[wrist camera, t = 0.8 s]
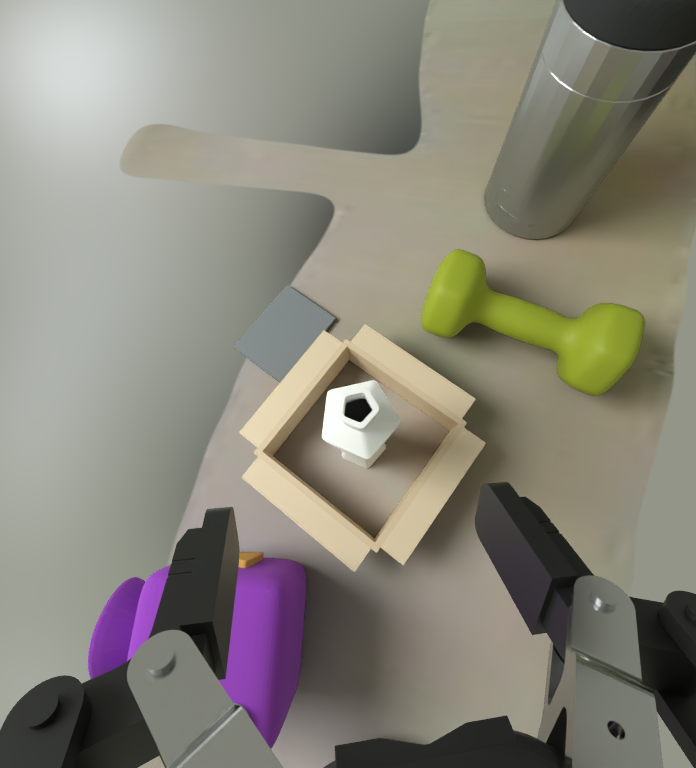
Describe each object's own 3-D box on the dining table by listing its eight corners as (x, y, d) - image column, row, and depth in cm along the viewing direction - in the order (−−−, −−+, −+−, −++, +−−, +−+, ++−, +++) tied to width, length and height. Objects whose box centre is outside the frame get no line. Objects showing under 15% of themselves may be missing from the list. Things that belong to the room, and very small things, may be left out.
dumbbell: (409, 340, 37) (417, 304, 30) (440, 271, 39) (455, 222, 32) (585, 412, 35) (638, 390, 28) (610, 334, 36) (666, 295, 30)
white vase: (359, 407, 36) (352, 346, 21) (397, 440, 35) (416, 399, 20) (324, 446, 35) (292, 409, 20) (362, 481, 34) (357, 468, 20)
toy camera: (143, 557, 33) (51, 580, 24) (305, 534, 33) (279, 548, 23) (141, 710, 30) (35, 808, 21) (320, 686, 30) (297, 774, 20)
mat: (288, 286, 39) (287, 284, 39) (335, 319, 38) (335, 317, 38) (234, 348, 38) (233, 346, 38) (282, 384, 37) (281, 383, 36)
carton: (344, 325, 38) (341, 308, 35) (490, 425, 35) (503, 417, 31) (232, 461, 35) (218, 457, 32) (381, 585, 32) (382, 595, 28)
